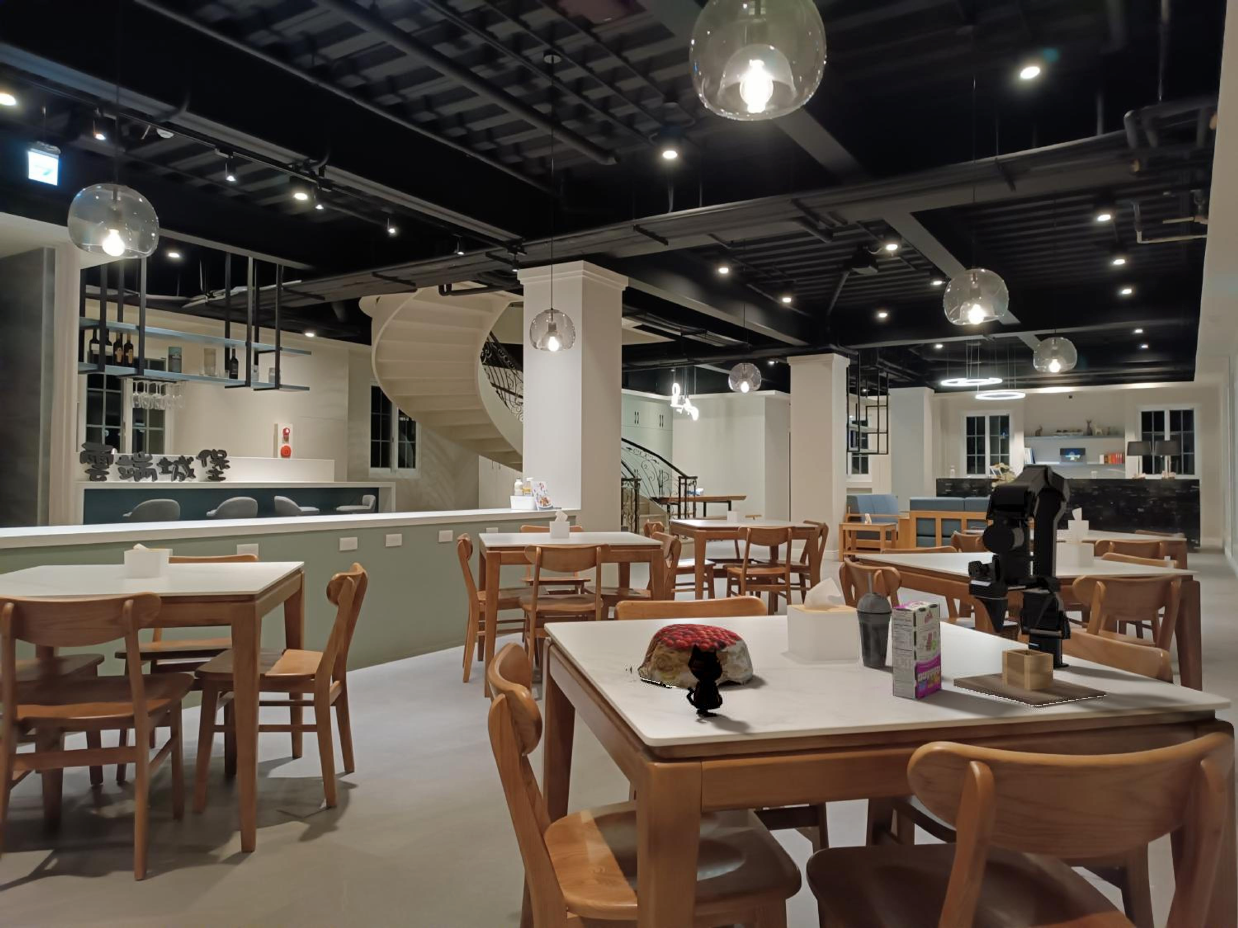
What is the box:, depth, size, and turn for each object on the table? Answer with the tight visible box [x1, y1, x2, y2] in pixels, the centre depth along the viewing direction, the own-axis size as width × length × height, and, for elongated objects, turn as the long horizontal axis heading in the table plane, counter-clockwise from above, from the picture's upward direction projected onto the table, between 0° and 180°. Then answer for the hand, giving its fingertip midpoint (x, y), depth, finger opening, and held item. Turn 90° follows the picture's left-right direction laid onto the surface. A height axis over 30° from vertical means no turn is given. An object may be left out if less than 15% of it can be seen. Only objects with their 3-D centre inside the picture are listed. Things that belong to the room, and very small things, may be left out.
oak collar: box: [1001, 647, 1054, 690], centre depth 151 cm, size 6×6×6 cm
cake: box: [625, 623, 754, 688], centre depth 164 cm, size 23×24×10 cm
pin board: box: [953, 672, 1108, 706], centre depth 151 cm, size 18×18×6 cm
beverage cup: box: [856, 571, 892, 669], centre depth 173 cm, size 7×7×20 cm
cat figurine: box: [685, 644, 730, 718], centre depth 135 cm, size 7×7×12 cm
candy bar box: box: [890, 600, 943, 701], centre depth 151 cm, size 11×5×16 cm, turn 136°
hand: (1015, 630), depth 156 cm, fingers open, 9 cm apart
